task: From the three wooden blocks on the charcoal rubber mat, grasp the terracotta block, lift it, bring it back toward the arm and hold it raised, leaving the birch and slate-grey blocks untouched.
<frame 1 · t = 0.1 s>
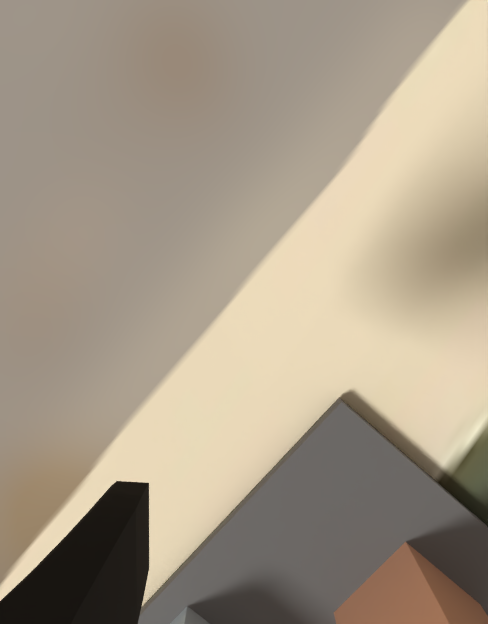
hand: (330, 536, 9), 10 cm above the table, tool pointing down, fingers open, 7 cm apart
terracotta block: (406, 608, 20), resting on mat
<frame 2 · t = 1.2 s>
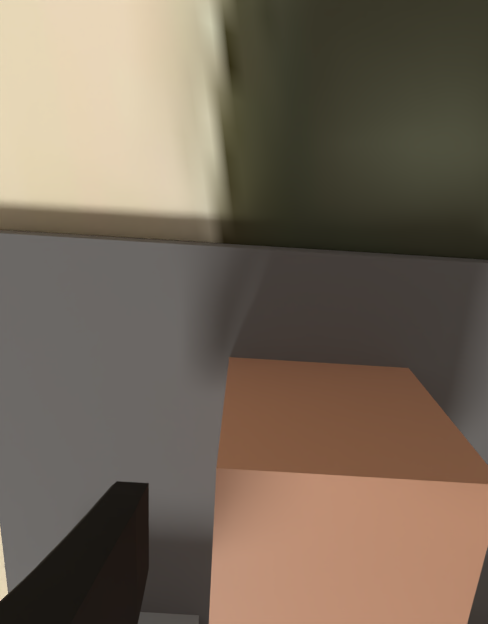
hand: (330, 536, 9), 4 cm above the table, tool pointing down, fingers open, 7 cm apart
mat: (294, 548, 14), on the table
terracotta block: (309, 441, 12), resting on mat
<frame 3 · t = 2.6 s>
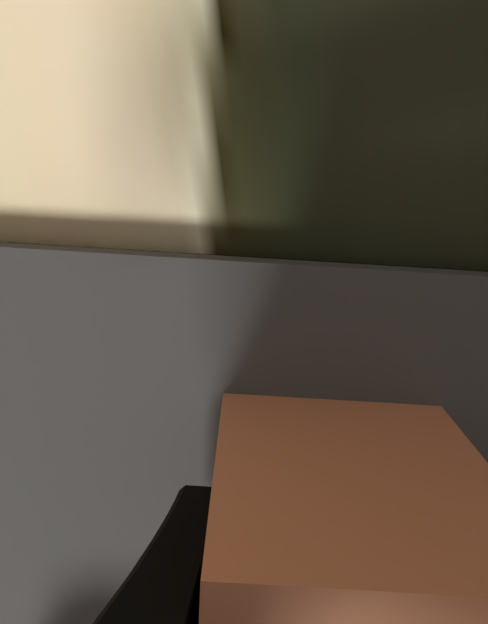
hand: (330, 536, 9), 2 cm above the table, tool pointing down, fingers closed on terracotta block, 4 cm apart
mat: (300, 609, 12), on the table
terracotta block: (320, 491, 10), resting on mat, touching gripper
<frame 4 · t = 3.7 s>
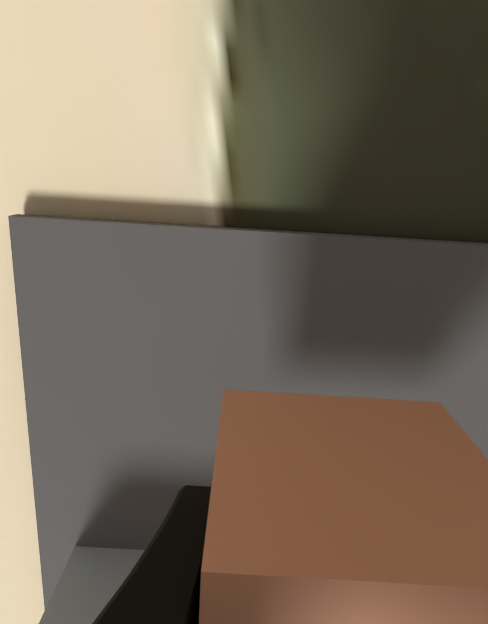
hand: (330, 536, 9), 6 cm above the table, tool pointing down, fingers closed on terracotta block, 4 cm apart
mat: (286, 494, 16), on the table
slate block: (139, 599, 17), resting on mat
terracotta block: (320, 487, 10), point 5 cm above the table, touching gripper
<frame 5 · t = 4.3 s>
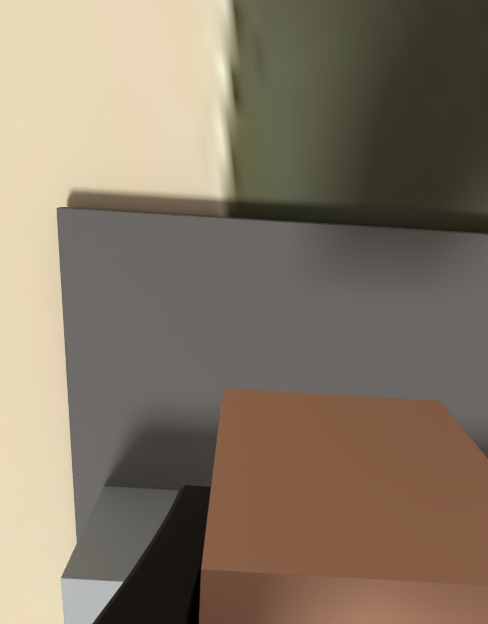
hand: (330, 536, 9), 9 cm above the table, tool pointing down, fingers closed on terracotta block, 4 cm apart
mat: (281, 442, 19), on the table
slate block: (157, 533, 20), resting on mat
terracotta block: (319, 486, 10), point 8 cm above the table, touching gripper
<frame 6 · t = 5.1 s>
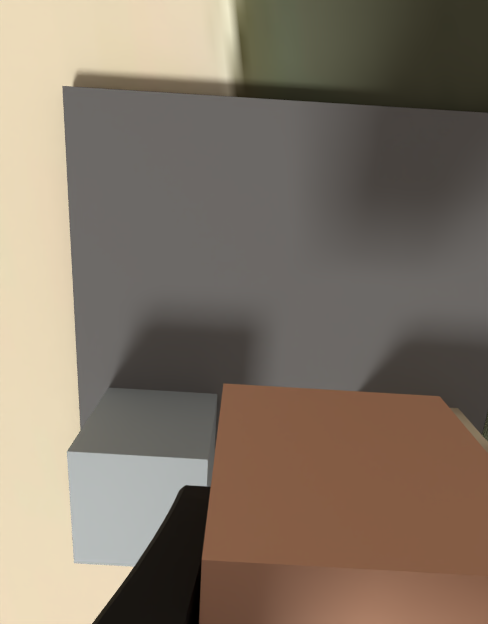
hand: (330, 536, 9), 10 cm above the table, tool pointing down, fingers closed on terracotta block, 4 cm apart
mat: (287, 342, 19), on the table
birch block: (395, 451, 20), resting on mat
slate block: (162, 438, 20), resting on mat
terracotta block: (320, 481, 10), point 9 cm above the table, touching gripper
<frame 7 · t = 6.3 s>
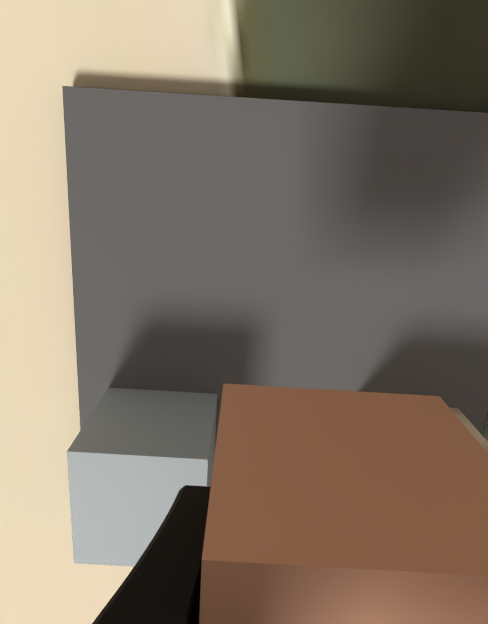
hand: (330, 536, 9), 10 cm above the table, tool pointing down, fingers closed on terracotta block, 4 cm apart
mat: (287, 342, 19), on the table
birch block: (395, 451, 20), resting on mat
slate block: (162, 438, 20), resting on mat
terracotta block: (320, 481, 10), point 9 cm above the table, touching gripper
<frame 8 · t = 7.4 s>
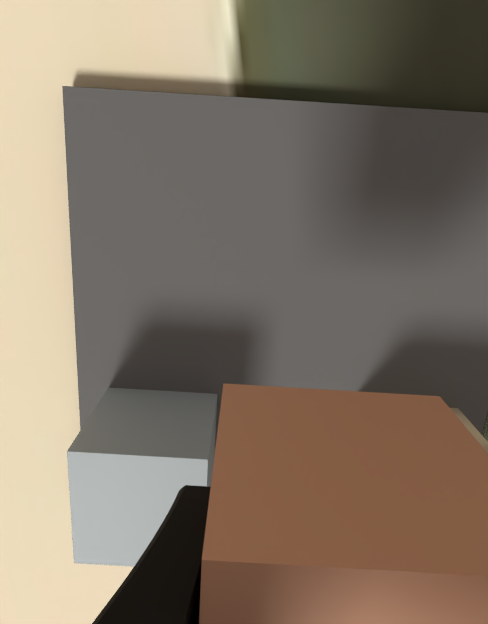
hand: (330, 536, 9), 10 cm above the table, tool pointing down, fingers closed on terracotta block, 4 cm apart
mat: (287, 342, 19), on the table
birch block: (395, 451, 20), resting on mat
slate block: (162, 438, 20), resting on mat
terracotta block: (320, 481, 10), point 9 cm above the table, touching gripper
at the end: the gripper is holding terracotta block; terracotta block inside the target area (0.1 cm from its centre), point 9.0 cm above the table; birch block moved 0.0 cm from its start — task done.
